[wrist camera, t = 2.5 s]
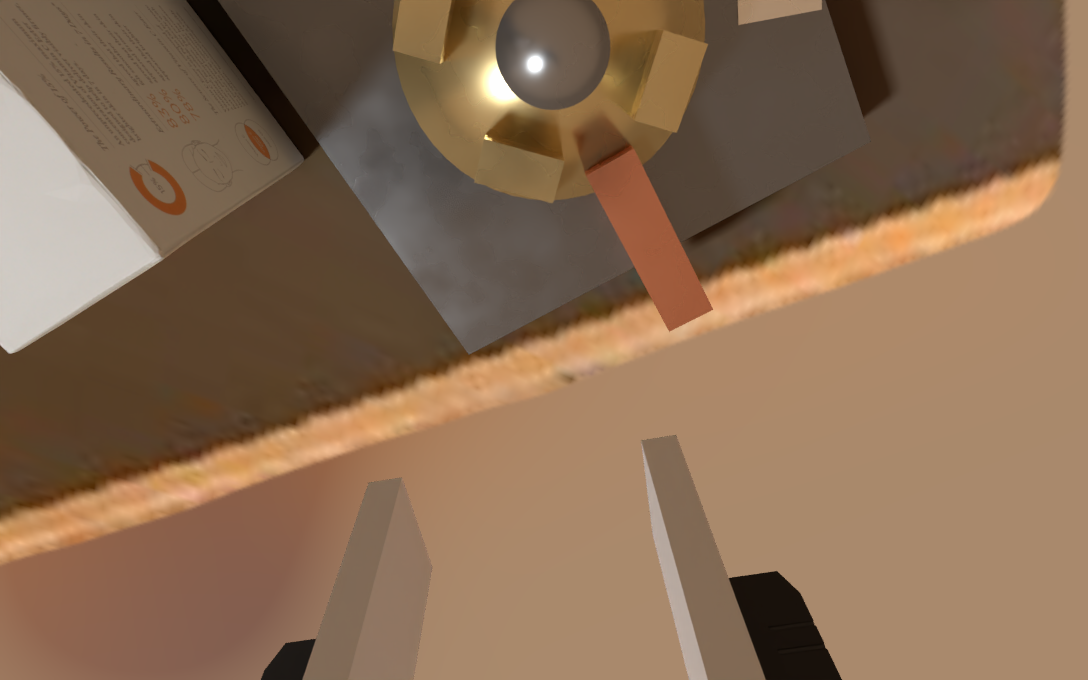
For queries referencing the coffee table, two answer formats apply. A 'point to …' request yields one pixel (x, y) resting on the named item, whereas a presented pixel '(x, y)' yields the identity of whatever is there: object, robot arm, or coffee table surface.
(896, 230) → the coffee table surface
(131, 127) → the small box
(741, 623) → the robot arm
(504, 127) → the gold tabbed disc
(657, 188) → the flange plate
